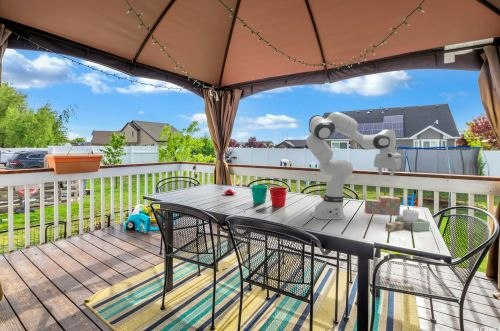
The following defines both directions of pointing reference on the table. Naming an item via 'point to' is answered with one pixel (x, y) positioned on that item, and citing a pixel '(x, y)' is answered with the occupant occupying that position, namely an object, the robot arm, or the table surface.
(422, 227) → the box
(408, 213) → the white cup
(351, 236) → the table surface
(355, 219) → the table surface
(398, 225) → the scraper
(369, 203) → the stack of blocks
